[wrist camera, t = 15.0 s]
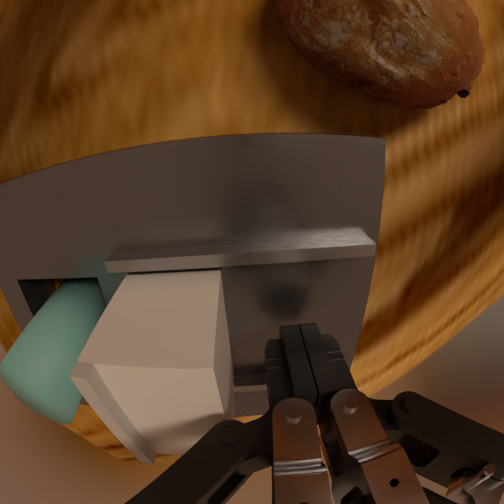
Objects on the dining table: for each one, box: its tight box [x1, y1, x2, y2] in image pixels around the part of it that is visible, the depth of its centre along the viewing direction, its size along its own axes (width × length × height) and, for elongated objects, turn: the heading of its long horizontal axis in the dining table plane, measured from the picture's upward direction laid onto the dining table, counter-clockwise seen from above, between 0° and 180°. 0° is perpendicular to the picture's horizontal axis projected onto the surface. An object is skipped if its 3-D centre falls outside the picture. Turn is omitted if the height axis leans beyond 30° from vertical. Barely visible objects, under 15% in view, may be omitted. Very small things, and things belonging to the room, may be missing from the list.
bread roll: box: [275, 0, 485, 109], centre depth 7 cm, size 10×10×8 cm
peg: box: [0, 277, 107, 424], centre depth 11 cm, size 4×4×8 cm
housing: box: [0, 133, 386, 416], centre depth 13 cm, size 16×20×4 cm
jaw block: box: [69, 270, 234, 464], centre depth 9 cm, size 6×4×6 cm, turn 3°
